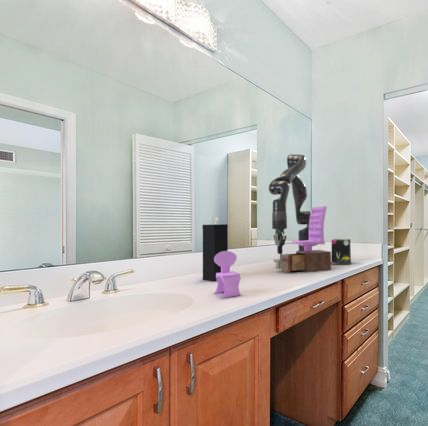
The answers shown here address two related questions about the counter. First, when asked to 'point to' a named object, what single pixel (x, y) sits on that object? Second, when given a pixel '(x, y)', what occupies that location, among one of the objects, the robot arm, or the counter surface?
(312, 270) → the cabinet
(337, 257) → the tampon box
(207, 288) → the counter surface
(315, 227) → the purple chair
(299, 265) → the drawer
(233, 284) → the toy chair
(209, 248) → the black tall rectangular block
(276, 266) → the block
